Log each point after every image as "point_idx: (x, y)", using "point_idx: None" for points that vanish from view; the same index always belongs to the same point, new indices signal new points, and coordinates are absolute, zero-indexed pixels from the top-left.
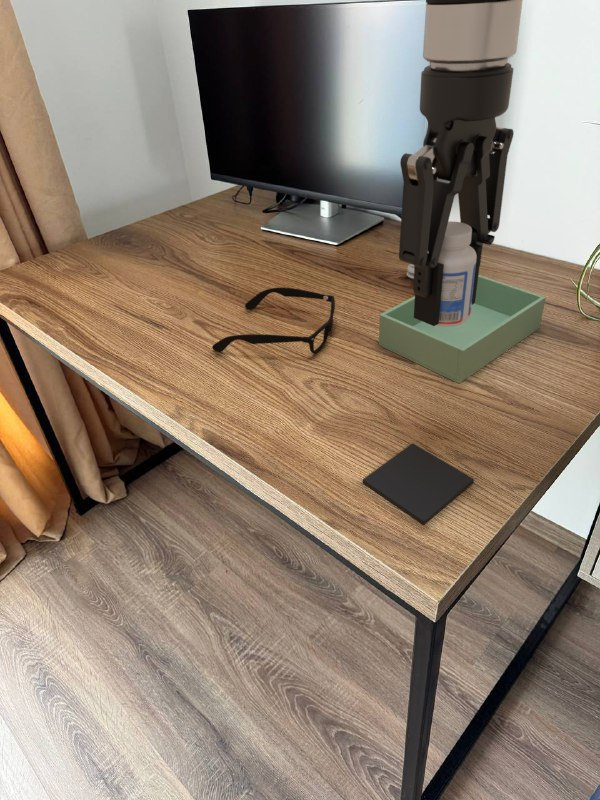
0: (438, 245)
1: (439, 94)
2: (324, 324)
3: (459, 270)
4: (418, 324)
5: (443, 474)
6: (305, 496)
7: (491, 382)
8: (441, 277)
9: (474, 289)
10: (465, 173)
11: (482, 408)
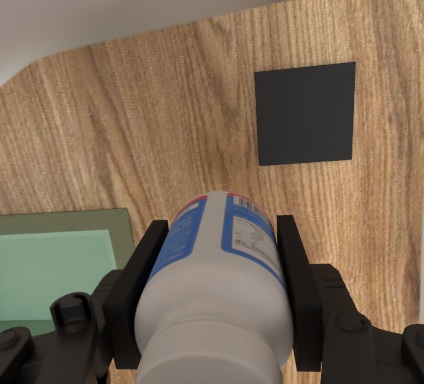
0: (348, 367)
1: None
2: None
3: (249, 263)
4: None
5: (275, 102)
6: (411, 184)
7: (92, 184)
8: (296, 278)
9: (151, 236)
10: None
11: (140, 157)
